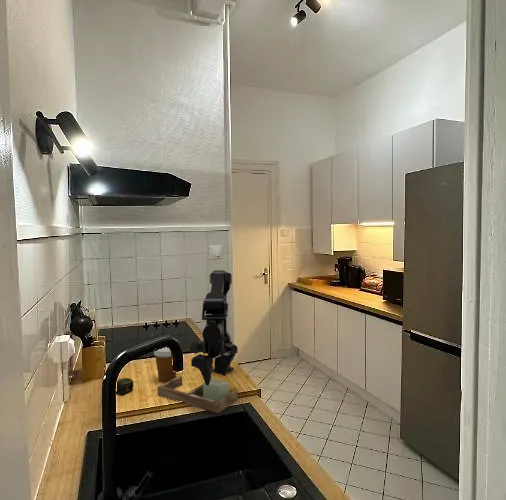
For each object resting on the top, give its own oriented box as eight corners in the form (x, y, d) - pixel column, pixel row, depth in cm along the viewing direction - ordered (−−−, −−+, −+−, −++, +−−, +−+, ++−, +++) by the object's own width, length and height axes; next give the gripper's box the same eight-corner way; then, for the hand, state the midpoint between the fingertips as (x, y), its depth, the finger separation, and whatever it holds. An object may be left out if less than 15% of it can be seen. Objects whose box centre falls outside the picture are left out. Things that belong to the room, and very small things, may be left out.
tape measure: (109, 392, 131) (108, 382, 131) (125, 385, 137) (125, 375, 137) (121, 397, 127) (121, 386, 127) (137, 390, 133) (137, 379, 133)
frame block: (212, 393, 130) (211, 377, 129) (228, 398, 126) (228, 381, 126) (203, 399, 125) (202, 382, 125) (220, 403, 122) (219, 387, 121)
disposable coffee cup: (173, 385, 137) (173, 352, 136) (150, 383, 139) (149, 351, 138) (183, 375, 146) (183, 345, 145) (161, 373, 148) (160, 343, 147)
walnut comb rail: (179, 383, 138) (179, 375, 138) (237, 399, 125) (237, 390, 125) (157, 395, 128) (157, 386, 128) (218, 413, 115) (217, 403, 115)
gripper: (212, 325, 136) (213, 367, 137) (177, 337, 120) (178, 385, 121) (238, 329, 131) (238, 372, 132) (205, 342, 115) (205, 392, 116)
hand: (215, 380), depth 125 cm, fingers open, 9 cm apart
